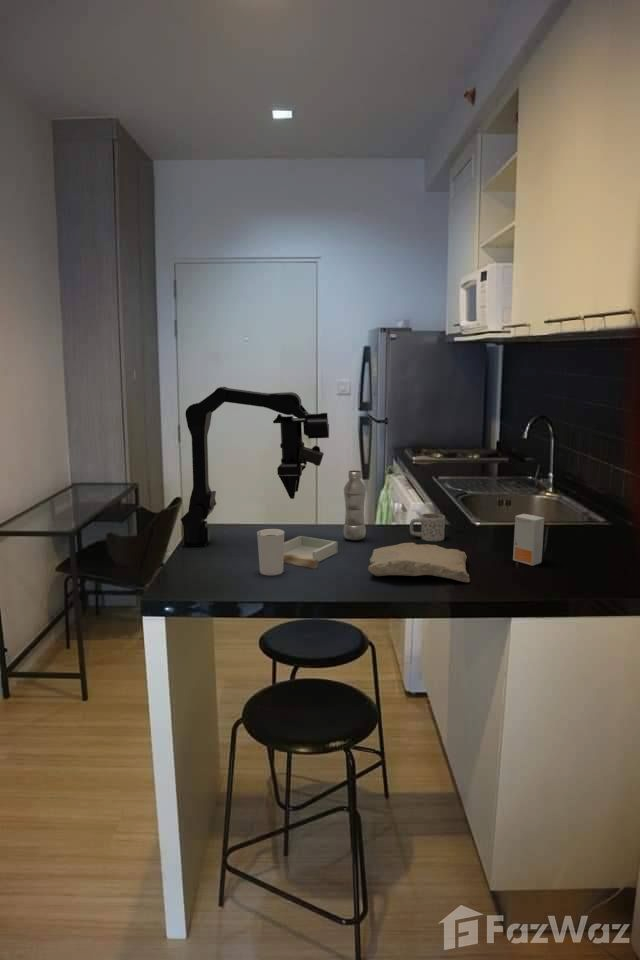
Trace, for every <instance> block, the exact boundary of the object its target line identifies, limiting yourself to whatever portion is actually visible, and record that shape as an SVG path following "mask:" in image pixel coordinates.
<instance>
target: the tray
mask: <svg viewBox="0 0 640 960" xmlns="http://www.w3.org/2000/svg"><path fill="white" fill-rule="evenodd" d="M338 542H339V541H334V540H328V539H322V538H317V537H309V536H306V535H305V536H304V535H299V536H297V537H294V538H291V539H289V540H287V541H284V553H285V554H291V555H296V556H302V557H307V558H312V559H318V563H319V562H321V561H322V562H323V560H325V559H327V558H329V557H332V556H333V555H336V554H337V553H338V552H339V551H338V548H339V547H338V544H339V543H338Z"/></svg>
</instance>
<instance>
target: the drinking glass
mask: <svg viewBox="0 0 640 960" xmlns="http://www.w3.org/2000/svg"><path fill="white" fill-rule="evenodd" d="M256 535H257V536H256V537H257V550H258V563H259V564H258V565H259V573H260V574H261V575H265V576H277V575H280V574H283V573H284V563H283V562H284V542H285V530H282V529H278V528H267V529H261V530H258V531H257V533H256ZM282 572H283V573H282Z"/></svg>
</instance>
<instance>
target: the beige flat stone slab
mask: <svg viewBox="0 0 640 960" xmlns="http://www.w3.org/2000/svg"><path fill="white" fill-rule="evenodd" d="M372 551H373V552H372V555H371V557H370V558H369V563H370V565H369V566H368V568H367V570H368V572H370V573H371V574H373V576H374V577H382V576H383V577H385V576H404V577H405V576H407V577H408V576H411V577H417V576H419V577H420V576H434V577H438V578H439V577H440V578H444V579H445V578H446V579H450V580H454V581H458V582H462V583H470V582H471V581H470V574H469V573H468V572H467V569H466V568H467V566H466V562H467V559H468V556H467V555H466V552H465V551H461V550H459V549H458V548H456V549H455V548H445V547H442V546H439V545H437V544H428V543H427V544H417V543H415V542H403V543H402V542H401V543H399V544H395V545H388V546H387V545H386V546H382V547H379V548H375V549H373V550H372Z"/></svg>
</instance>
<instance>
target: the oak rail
mask: <svg viewBox="0 0 640 960" xmlns="http://www.w3.org/2000/svg"><path fill="white" fill-rule="evenodd" d="M283 564H288V565H294V566H299V567H304V568H309V569H317V568H318V567H319V565H318V564H319V562H318V559H312V558H307V557H302V556H296V555H291V554H285V553H284V562H283Z"/></svg>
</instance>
